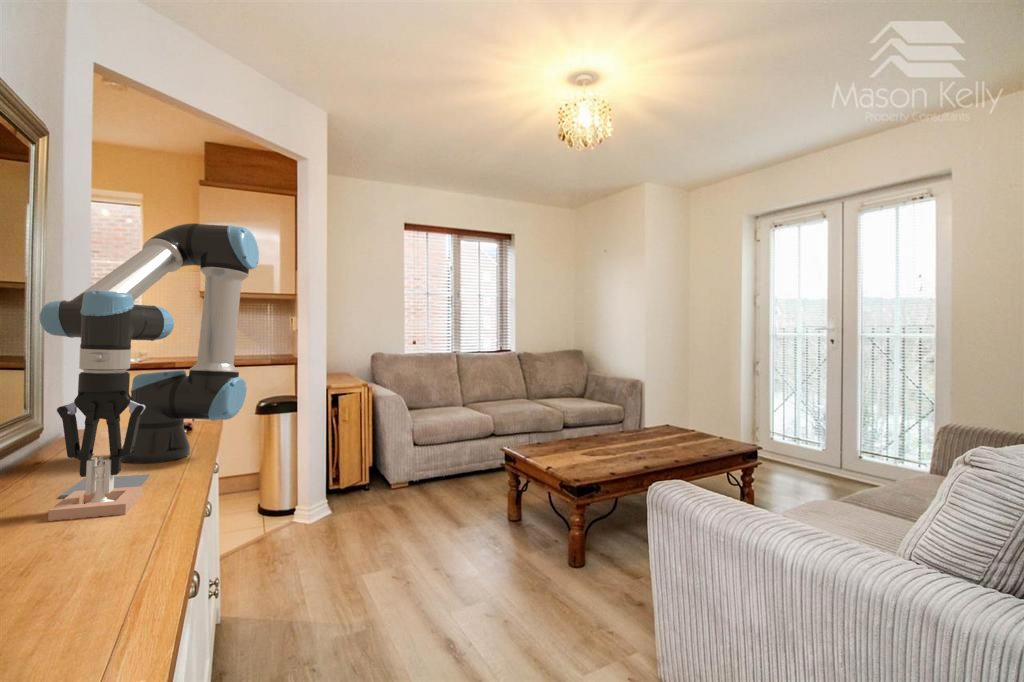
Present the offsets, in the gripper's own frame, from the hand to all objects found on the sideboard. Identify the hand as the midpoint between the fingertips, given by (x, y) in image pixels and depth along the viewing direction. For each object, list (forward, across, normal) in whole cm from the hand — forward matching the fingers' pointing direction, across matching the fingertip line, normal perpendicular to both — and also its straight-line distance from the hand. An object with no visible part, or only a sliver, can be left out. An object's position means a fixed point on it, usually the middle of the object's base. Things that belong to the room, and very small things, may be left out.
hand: (99, 492), depth 91 cm
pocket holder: (+3, 0, 0) cm, 3 cm away
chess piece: (+3, 0, 0) cm, 3 cm away
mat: (+3, -2, +14) cm, 15 cm away
